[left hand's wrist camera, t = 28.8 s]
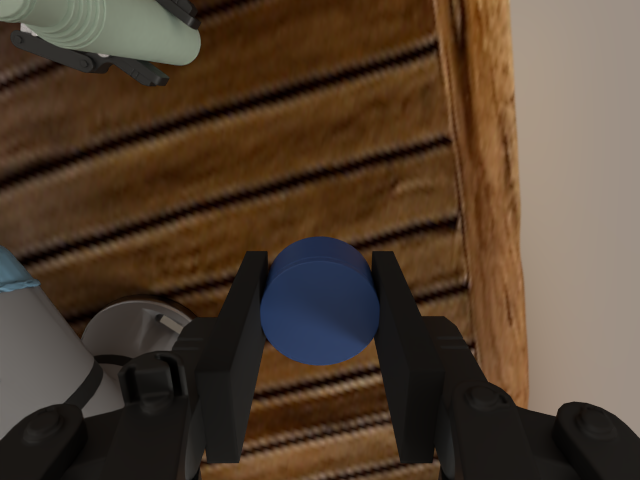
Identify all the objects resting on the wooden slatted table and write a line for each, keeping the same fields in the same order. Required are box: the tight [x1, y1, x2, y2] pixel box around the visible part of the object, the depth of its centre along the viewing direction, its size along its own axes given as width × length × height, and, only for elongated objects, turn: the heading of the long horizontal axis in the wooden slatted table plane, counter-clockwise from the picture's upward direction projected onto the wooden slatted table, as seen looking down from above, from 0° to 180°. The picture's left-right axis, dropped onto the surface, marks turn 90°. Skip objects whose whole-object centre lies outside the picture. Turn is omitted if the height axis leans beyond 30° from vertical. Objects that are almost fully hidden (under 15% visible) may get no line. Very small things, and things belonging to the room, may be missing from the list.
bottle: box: [0, 0, 201, 65], centre depth 26 cm, size 4×4×22 cm
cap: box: [260, 237, 380, 365], centre depth 14 cm, size 4×4×2 cm
